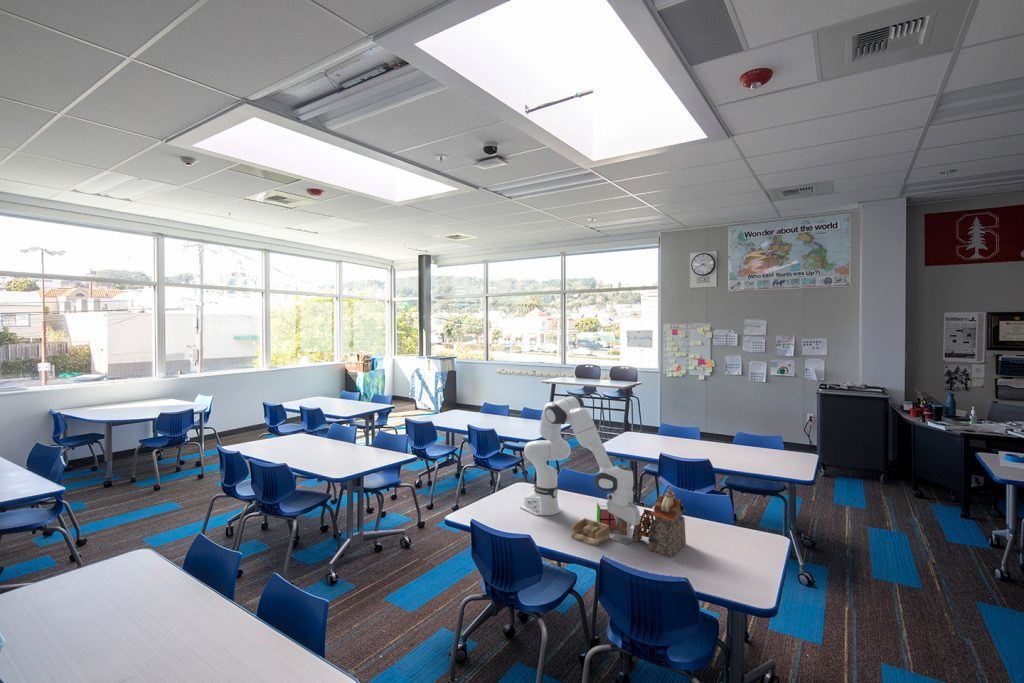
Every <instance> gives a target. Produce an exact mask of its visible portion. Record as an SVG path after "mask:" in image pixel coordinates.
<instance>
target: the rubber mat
mask: <svg viewBox="0 0 1024 683" xmlns="http://www.w3.org/2000/svg"><path fill="white" fill-rule="evenodd" d="M632 537H633V536H630V535H628V534H627V535H619V532H617V533H616V534H615V535H613V536H612V537H611V538H609V540H611V541H614V542H616V543H620V544H623V545H625V546H628V545H630V544H631V543H632V542H634V541H633V539H632Z"/></svg>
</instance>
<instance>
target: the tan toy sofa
mask: <svg viewBox="0 0 1024 683" xmlns="http://www.w3.org/2000/svg"><path fill="white" fill-rule="evenodd" d="M610 534H611V529H610V526H609V525H606V524H603V523H599V522H597V520H592V519H589V518H586V517H584V518H583V519H582V518H581V520H579V521H577V522H576V523H574V524H572V525H571V539H574V540H577V541H579V542H580V541H581V542H583V543H585V544H588V545H591V546H595V547H598V546H600V545H602V544H603V543H604V542H606V541H607V540H610V537H611V536H610Z"/></svg>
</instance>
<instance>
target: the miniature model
mask: <svg viewBox="0 0 1024 683" xmlns="http://www.w3.org/2000/svg"><path fill="white" fill-rule="evenodd" d="M671 485H672V483H671V482H670V483H669V487H668V489H666V491H667V492H665V493H664V495H662V494H659V495H658V497H657V501H656V502H655V504H654V510H650V509H645V508H644V509H643V513H642V514H641V515H640V524H639V525H637V526H633V531H632V532H633V534H632V536H631V537H632V539H633V541H632V542H636V543H639V542H640V541H641V540H642V539H643V537H644V538H648V540H647V541H648V543H649V544H648V548H647V549H648V550H649V551H651V552H654V553H656V554H661V555H663V556H666V557H669V558H673V557H674V556H676V554H677V553H678V552H679V551H680V550H682V548H683V547H685V545H686V544H687V540H686V539H687V538H686V536H687V535H686V523H685V522H686V521H685V517H684V516H683V512H687V511H686V510H685V508H684V504H682V501H681V499H677V498H676V496H675V493H674V491H673V490H672V487H671Z"/></svg>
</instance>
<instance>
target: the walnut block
mask: <svg viewBox="0 0 1024 683" xmlns="http://www.w3.org/2000/svg"><path fill="white" fill-rule="evenodd" d="M627 525H628V524H627V522H626V521H624V520H622V519H620V518H619V529H618V533H619V535H628V531H626V530H625V529H626V528H625V527H627Z"/></svg>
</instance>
